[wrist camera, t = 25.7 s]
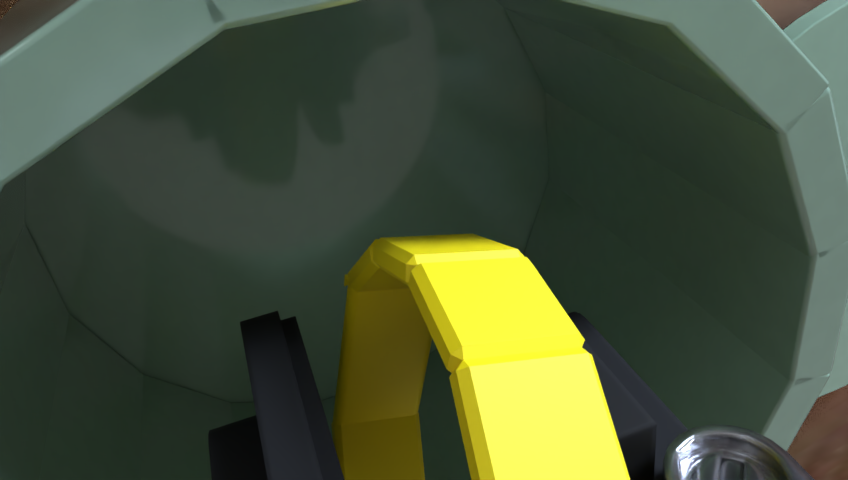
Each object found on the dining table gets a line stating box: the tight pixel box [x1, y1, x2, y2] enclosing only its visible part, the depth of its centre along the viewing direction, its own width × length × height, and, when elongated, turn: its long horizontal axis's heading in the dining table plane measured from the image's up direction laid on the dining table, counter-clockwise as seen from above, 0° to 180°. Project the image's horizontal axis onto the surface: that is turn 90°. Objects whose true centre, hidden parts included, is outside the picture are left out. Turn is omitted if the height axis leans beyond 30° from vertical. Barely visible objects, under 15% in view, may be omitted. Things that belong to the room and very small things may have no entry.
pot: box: [0, 0, 848, 480], centre depth 13 cm, size 13×13×8 cm
